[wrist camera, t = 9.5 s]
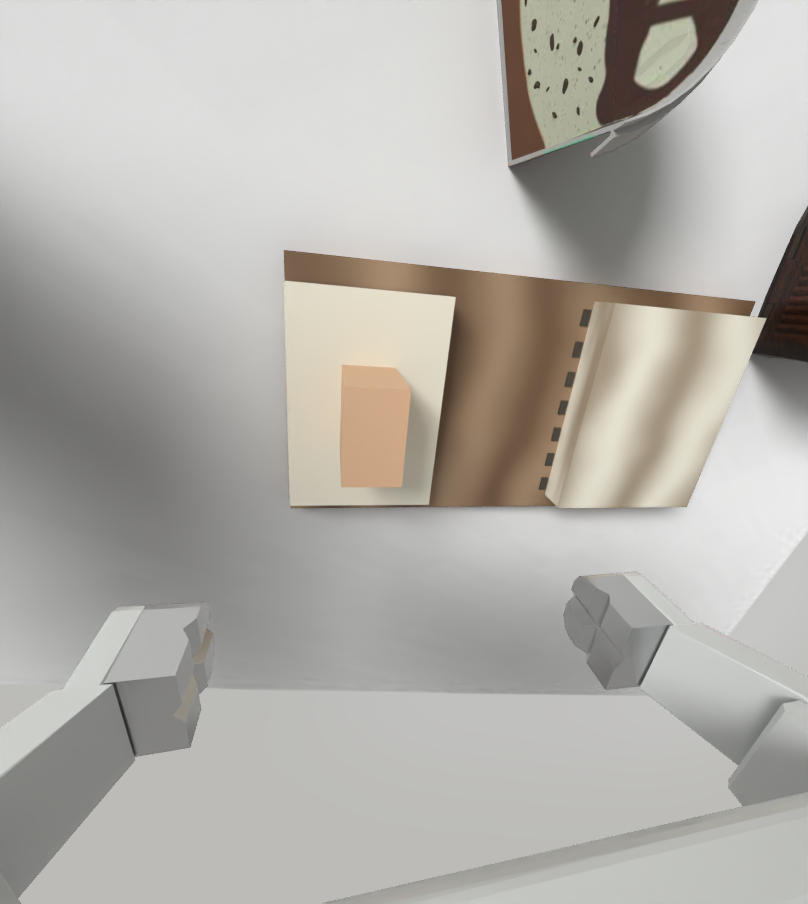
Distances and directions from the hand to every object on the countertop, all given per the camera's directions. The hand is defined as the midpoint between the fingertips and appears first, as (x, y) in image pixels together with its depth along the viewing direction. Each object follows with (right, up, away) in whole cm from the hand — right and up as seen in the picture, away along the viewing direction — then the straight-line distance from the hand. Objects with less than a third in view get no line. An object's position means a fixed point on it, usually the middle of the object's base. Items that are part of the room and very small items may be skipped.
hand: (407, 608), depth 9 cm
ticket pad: (+8, +7, +20) cm, 22 cm away
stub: (-3, +7, +16) cm, 18 cm away
